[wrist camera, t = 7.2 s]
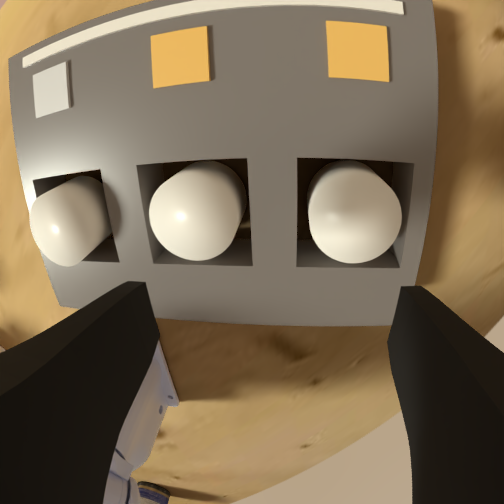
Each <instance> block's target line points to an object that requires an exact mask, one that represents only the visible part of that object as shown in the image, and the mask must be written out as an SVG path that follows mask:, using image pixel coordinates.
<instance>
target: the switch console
mask: <svg viewBox="0 0 504 504" xmlns="http://www.w3.org/2000/svg"><path fill="white" fill-rule="evenodd" d="M9 88H10V102H11V114H12V123H13V131H14V139H15V145H16V152H17V158H18V164H19V169H20V174H21V179H22V184H23V189H24V193H25V198H26V202H27V206H28V210H29V214H30V211H31V207H32V205H33V203H34V201H35V200H36V199H37V198H38V197H39V196H40V195H42V194H44V193H46V192H48V191H50V190H52V189H53V188H55V187H57V186H59V185H61V184H63V183H65V182H66V178H65V174H70V173H77V172H84V171H91V170H99V169H101V175H102V181H103V187H104V192H105V198H106V203H107V208H108V213H109V218H110V222H111V227H112V232H113V236H114V238H106V239H105V240H104V241H103V242H101V243H100V244H99V245H98V246H97V247H96V248H95V249H94V250H93V251H91V252H90V253H89V254H88V255H87V256H86V257H85V258H84V259H83V260H82V261H81V262H80V263H78V264H77V265H74V266H70V267H66V266H61V265H58V264H56V263H54V262H53V261H51V260H50V259H49V258H47V257H46V256H45V255H44V254H43V252H42V251H41V250H40V252H41V255H42V258H43V261H44V264H45V267H46V270H47V273H48V276H49V278H50V281H51V284H52V287H53V289H54V292H55V295H56V297H57V300H58V302H59V305H60V306H63V307H70V308H77V309H81V308H83V307H84V306H86V305H87V304H89V303H91V302H92V301H94V300H95V299H97V298H99V297H100V296H102V295H103V294H105V293H107V292H108V291H110V290H112V289H113V288H115V287H117V286H119V285H121V284H123V283H125V282H127V281H139V282H146V286H147V290H148V293H149V297H150V301H151V305H152V309H153V312H154V316H155V318H163V319H175V320H187V321H201V322H216V323H233V324H254V325H282V326H387V325H392V322H393V318H394V314H395V310H396V306H397V302H398V297H399V293H400V288H401V286H415V282H416V278H417V273H418V269H419V264H420V260H421V255H422V250H423V245H424V239H425V234H426V228H427V222H428V216H429V209H430V202H431V195H432V187H433V178H434V169H435V158H436V145H437V127H438V59H437V42H436V30H435V20H434V11H433V3H432V0H154V1H150V2H146V3H143V4H139V5H135V6H132V7H128V8H125V9H122V10H119V11H115V12H112V13H109V14H106V15H103V16H101V17H98V18H95V19H92V20H90V21H87V22H84V23H82V24H79V25H77V26H74V27H72V28H70V29H67V30H65V31H63V32H60V33H58V34H56V35H54V36H51V37H49V38H47V39H45V40H43V41H41V42H39V43H37V44H35V45H33V46H31V47H29V48H27V49H25V50H23V51H22V52H20V53H18V54H16V55H14V56H13V57H11V58H9ZM233 158H247V163H248V182H249V202H250V221H251V239H233V241H232V242H231V244H230V245H229V247H228V248H227V249H226V250H225V251H224V252H222V253H221V254H219V255H218V256H216V257H214V258H211V259H208V260H201V261H195V260H188V259H184V258H181V257H179V256H176V255H175V254H173V253H171V252H170V251H168V250H167V249H166V248H165V247H164V246H163V245H162V244H161V243H160V242H159V241H158V239H157V238H156V236H155V234H154V232H153V230H152V227H151V224H150V218H149V208H150V203H151V200H152V197H153V195H154V193H155V192H156V190H157V189H158V188H159V187H160V186H161V185H162V184H163V183H164V182H165V179H164V171H163V163H165V162H178V161H192V160H210V159H233ZM297 158H338V159H361V160H378V161H392V162H393V175H392V187H391V189H392V190H393V192H394V193H395V194H396V196H397V198H398V200H399V203H400V207H401V213H402V220H401V227H400V230H399V233H398V235H397V237H396V239H395V241H394V242H393V244H392V245H391V246H390V247H389V248H388V249H387V250H386V251H385V252H384V253H383V254H381V255H380V256H378V257H376V258H374V259H372V260H370V261H366V262H362V263H344V262H340V261H337V260H335V259H333V258H331V257H329V256H327V255H326V254H325V253H324V252H322V251H321V249H320V248H319V247H318V246H317V244H316V243H315V241H314V240H302V239H297ZM39 249H40V248H39Z"/></svg>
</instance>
